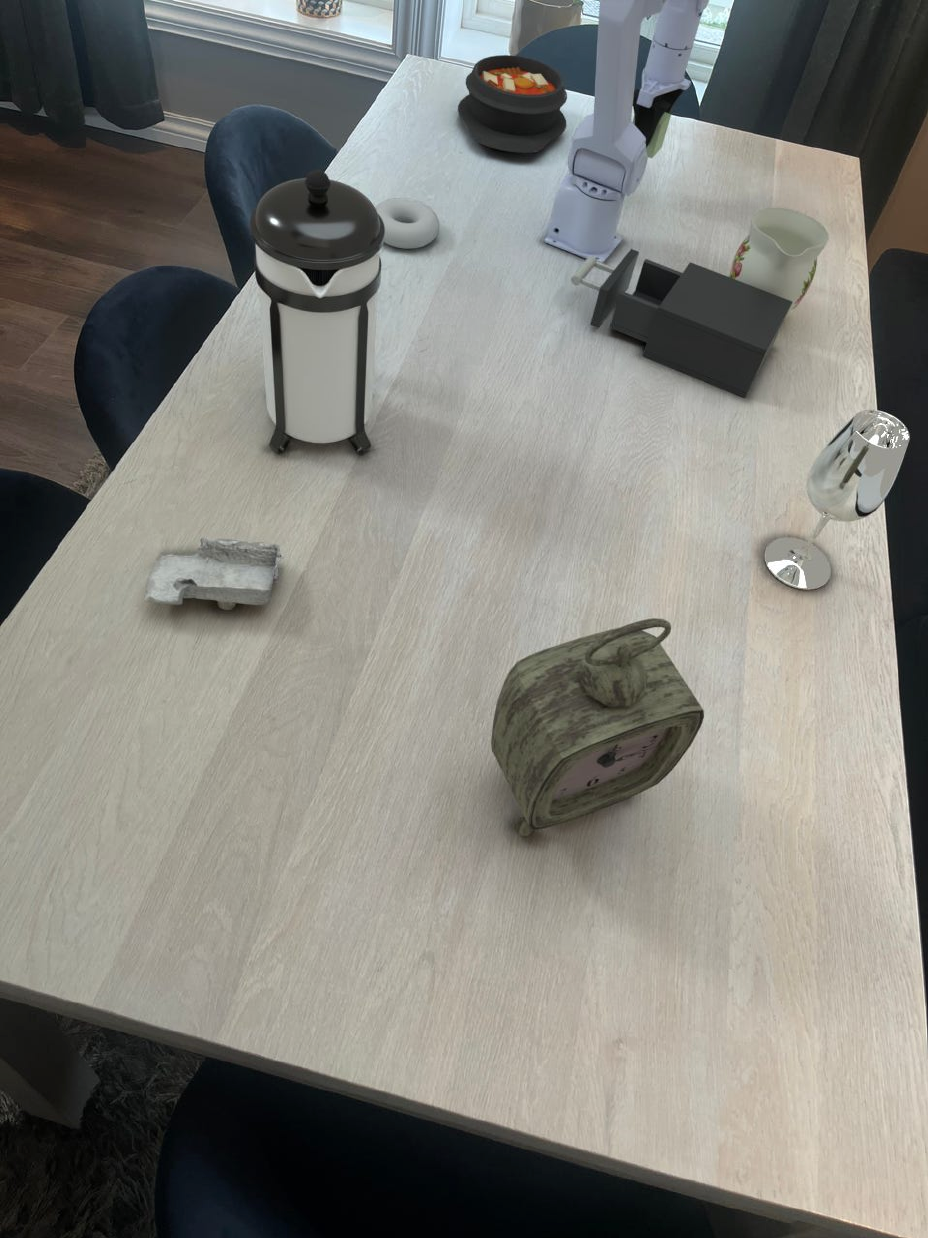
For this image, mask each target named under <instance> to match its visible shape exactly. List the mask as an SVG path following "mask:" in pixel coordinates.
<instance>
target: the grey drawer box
mask: <svg viewBox="0 0 928 1238" xmlns="http://www.w3.org/2000/svg"><path fill="white" fill-rule="evenodd" d="M681 273H682V274H681V276H680V277H679V279H678V280H677V282H676V283H675V284H674V286H673V287H672V289H671V290H670V292H669V293H668V294H667V296H666V297H665V299H664V300H663V302H662V303H661V304H660V306H659V307H658V310H657V313H656V316H655V319H654V322H653V325H652V328H651V332H650V335H649V338H648V341H647V343H646V344H645V347H644V350H643V353H642V357H644V358H647V359H648V360H651V361H654V362H656V363H658V364H661V365H664V366H666V367H668V368H671V369H673V370H676V371H678V372H681V373H683V374H685V375H688V376H690V377H692V378H695V379H698V380H700V381H703V382H705V383H707V384H710V385H712V386H715V387H717V388H719V389H722V390H723V391H726V392H729V393H731V394H734V395H736V396H739V397H741V398H744V399H746V398H747V396H748V393H749V392H750V390H751V388H752V386H753V384H754V382H755V381H756V378H757V376H758V375H759V373H760V371H761V369H762V367H763V365H764V364H765V362H766V360H767V357H768V356H769V354H770V352H771V350H772V348H773V346H774V343H775V342H776V339H777V337H778V335H779V333H780V331H781V328H782V326H783V324H784V323H785V319H786V318H787V317H788V315H787V313H788V311H789V309H790V307H791V305H792V303H793V302H792V301H790V300H787V299H784V298H782V297H779V296H777V295H774V294H771V293H769V292H766V291H764V290H761V289H758V288H756V287H753V286H751V285H748V284H746V283H743V282H740V281H738V280H735V279H733V278H730V277H729V276H727V275H724V274H722V273H719V272H717V271H714V270H712V269H710V268H708V267H707V268H706V267H704V266H701V265H699V264H696V263H693V262H689V263H688V265H687V266H686V267H685V269H684V270H683V272H681Z"/></svg>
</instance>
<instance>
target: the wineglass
mask: <svg viewBox="0 0 928 1238" xmlns="http://www.w3.org/2000/svg"><path fill="white" fill-rule="evenodd" d="M910 440H911V436H910V432H909V430H908V428H907V427H906V425H905V423H903V422H902V421H901V420H900V419H898V418H897V417H896V416H894V415H892V414H891V413H890V414H889V413H888V412H885V411H881V410H877V409H864V410H861V411H858V412H857V413H855V414H854V416H853V417H852V418H850V419H849V421H848V422H847V423H846V424H844V426H842V427H841V429H840V430H839V431H838V432H837V433H836V434H835V435H834V436H833V437H832V439H831V440H830V441H829V442H828V443H827V444H826V445H825V446H824V448H823V449H822V450H821V451H820V453H818V456H817V457H816V458H815V460H814V461H813V463H812V465H811V467H810V469H809V472H808V474H807V476H806V477H807V479H806V492H807V495H808V499H809V501H810V503H811V505H812V506H813V508H814V509H815V510H816V511H817V512H818V513H819V514H820V515H821V516H820V519H819V521H818V523H816V526H815V528H814V530H813V531H812V533H811V535H810V536H809V538H808V539H807V541H806V540H804V539H801V538H797V537H791V536H790V537H789V536H788V537H785V536H784V537H779V538H776V539H774V540H772V541H771V542H769V544H768V545H766V548H765V550H764V553H763V554H764V562H765V565H766V567H767V569H768V570H769V572H770V573H771V574H772V575H773V576H774V577H775V578H776V579H777V580H778V581H780V582H782V583H783V584H784V585H787V586H789V587H791V588H795V589H798V590H804V591H808V590H809V591H812V590H816V589H817V590H818V589H819V588H821V587H824V586H825V585H826V584H827V583H828V581H829V580H830V578H831V575H832V574H831V573H832V568H831V564H830V562H829V560H828V558H827V556H826V555H825V554H824V553H823V552H822V551H821V550H820V549H819V548H817V546H816V545H814V544H815V543H816V541H817V539H818V537H819V536H820V534H821V533H822V531H823V530H824V528H825V527H826V525H827V524H828V523H829V522H830V521H836V522H843V523H851V522H855V521H858V520H862V519H864V518H867V517H868V516H870V515H871V514H873V513H875V512H876V511H877V510H878V509H879V508H880V506H881V505H882V504H883V503H884V501H885V500H886V499H887V497H888V495H889V494H890V492H891V490H892V487H893V486H894V483H895V481H896V478H897V477H898V474H899V472H900V469H901V466H902V464H903V460H904V457H905V455H906V452H907V449H908V445H909V443H910Z"/></svg>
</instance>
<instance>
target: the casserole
mask: <svg viewBox="0 0 928 1238" xmlns="http://www.w3.org/2000/svg"><path fill="white" fill-rule="evenodd" d="M465 86H466V89H467V91H468V94H466V95H465V96H464V97H463V98H462V99H461V100H459V103H458V104H457V113H458V116H459V117H460V119H461V121H462V122H463V123H464V125H466V127H467V130H468V132H469V135H470V137H471V139H473V140H474V141H475V142H477V143H479V144H481V145H483V146H485V147H488V148H491V149H494V150H498V151H503V152H508V153H509V152H510V153H516V154H518V153H519V154H532V153H537V152H540V151H542V150H543V149H544V148H545V147H546V146H547V145H548V144H549V143H550V142H551V141H553V140H555V139H557V138H558V137H560V136H561V135H563V133H564V132H565V131H566V129H567V126H568V125H567V119H566V117H565V115H564V113H563V112H562V111H561V110H560V109H561V108H562V107H563V106H564V105H565V104H566V103H567V100H568V93H567V90H566V89H565V85H564V79H563V76H562V75H561V74H560V72H558V71H557V70H556V69H554V68H553V67H551V66H550V65H549V64H546V63H544V62H541V61H539V60H536V59H533V58H529V57H525V56H519V55H507V54H503V55H502V54H500V55H491V56H488V57H484V58H481V59H480V60H478V61H477V62H476V63H474V66H473V68H472V70H471V72H470V73H469V74H468V75H466V78H465Z"/></svg>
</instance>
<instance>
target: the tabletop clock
mask: <svg viewBox="0 0 928 1238" xmlns="http://www.w3.org/2000/svg"><path fill="white" fill-rule="evenodd" d="M653 628H654V629H655V628H662V629H664V630H663V631H662V632H661V633H660V634H659V635H658V636H656V635H654V634H651V633H649V632H647V631H645V630H649V629H653ZM671 632H672V625H671V623H670V621H668V620H666V619H664V618H657V617H656V618H655V617H653V618H647V619H641V620H638V621H635V622H631V623H627V624H625V625H623V626H620V627H616V628H611V629H608V630H605V631H600V632H597V633H593V634H589V635H585V636H581V637H578V638H575V639H572V640H569V641H567V642H562V643H560V644H556V645H553V646H551V647H548V648H545V649H542V650H539V651H537V652H534V653H532V654H529V655H526V656H525V657H523V658H522V659H520V660H517V661H516V662H515V663H514V665H513V666H512V668H511V669H510V670H509V671H508V673H507V675H506V677H505V679H504V680H503V683H502V687H501V690H500V692H499V695H498V698H497V701H496V704H495V710H494V714H493V722H492V731H491V740H490V743H491V745H490V746H491V752H492V754H493V756H494V758H495V760H496V762H497V764H498V766H499V768H500V770H501V772H502V774H503V776H504V778H505V780H506V782H507V784H508V786H509V788H510V790H511V792H512V794H513V797H514V798H515V800H516V802H517V804H518V806H519V809H520V810H521V813H522V815H523V816H521V817H518V819H516V821H515V823H514V830H515V831H516V832H515V833H517V834H518V836H521V837H527V836H529V835H530V834H532V832H533V831H538V830H542V829H547V828H550V827H554V826H556V825H560V824H563V823H566V822H568V821H569V822H570V821H572V820H574V819H577V818H581V817H583V816H587V815H588V814H592V813H595V812H597V811H600V810H602V809H605V808H608V807H610V806H612V805H615V804H618V803H620V802H622V801H625V800H628V799H631V798H633V797H634V796H637V795H639V794H642V793H643V792H645V791H647V790H649V789H651V788H653V787H655V786H657V785H659V783H661V782H662V781H663V780H665V778H667V776H668V775H669V774H670V773H671V772H672V771H673V770H674V768H675V767H676V766H677V765H678V763H680V761H681V759H682V758H683V757H684V755H685V754H686V753H687V752H688V750H689V749H690V747H691V746H692V744H693V742H694V740H695V738H696V736H697V735H698V733H699V731H700V729H701V727H702V724H703V722H704V718H705V711H704V708H703V706H702V705H701V704H700V702H699V701H698V699H697V697H696V696H695V694H694V693H693V691H692V690H691V688H690V687H689V685H688V684H687V682H686V681H685V680H684V678H683V676H682V674H681V673H680V672H679V670H678V668H677V667H676V665H675V664H674V661H672V659H671V657H670V656H669V655H668V653H667V652H666V650H665V648H664V647H663V645H662V643H663V642H664V641H665V640H666V639H667V638H668V637H669V635H670V634H671Z"/></svg>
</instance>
